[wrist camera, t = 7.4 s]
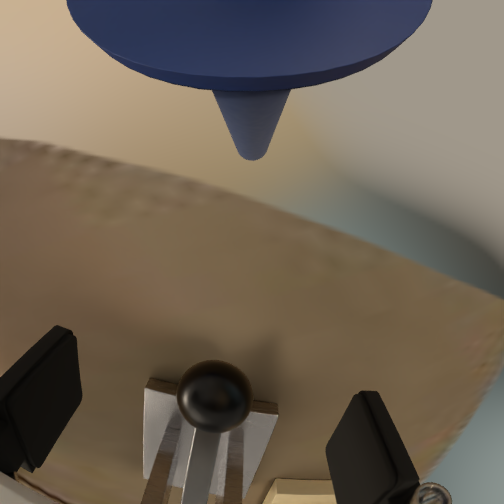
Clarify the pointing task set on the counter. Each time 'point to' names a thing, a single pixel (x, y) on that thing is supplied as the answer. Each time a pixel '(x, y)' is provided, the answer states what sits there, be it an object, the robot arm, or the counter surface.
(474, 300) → the counter surface
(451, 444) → the counter surface
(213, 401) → the lever
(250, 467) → the bracket
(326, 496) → the control block
